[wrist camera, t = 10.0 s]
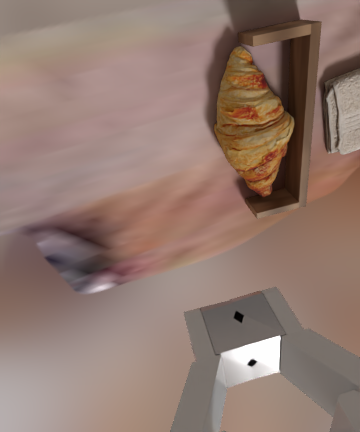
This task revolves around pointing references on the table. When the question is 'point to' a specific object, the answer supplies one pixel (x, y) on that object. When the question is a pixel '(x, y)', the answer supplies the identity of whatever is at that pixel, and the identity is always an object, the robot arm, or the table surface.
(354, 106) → the washcloth
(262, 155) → the croissant
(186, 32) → the table surface
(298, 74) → the frame
